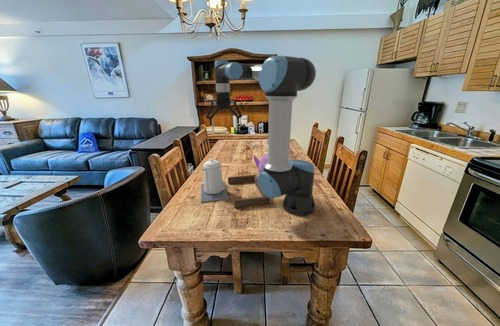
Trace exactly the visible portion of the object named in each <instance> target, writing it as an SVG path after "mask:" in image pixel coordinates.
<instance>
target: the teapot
mask: <svg viewBox="0 0 500 326" xmlns="http://www.w3.org/2000/svg"><path fill="white" fill-rule="evenodd" d="M252 157H253V161H254V162H255V166H256V168H257V171H258V173H259V174H260V173H261V172H264V164H265V163H266V162H267V161H268V153H266V154H264V155H263V156H262V157H261V158H260V159H259V158H258V157H257V155H253V156H252Z"/></svg>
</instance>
